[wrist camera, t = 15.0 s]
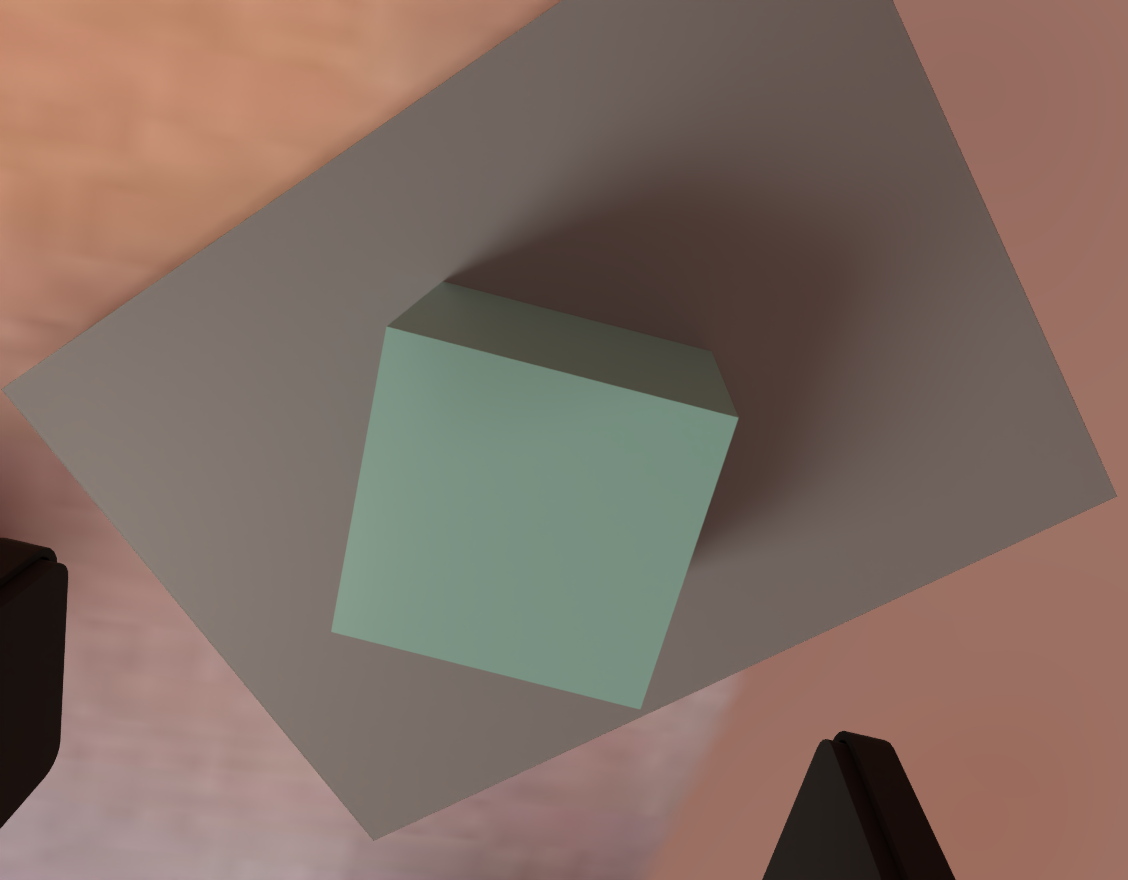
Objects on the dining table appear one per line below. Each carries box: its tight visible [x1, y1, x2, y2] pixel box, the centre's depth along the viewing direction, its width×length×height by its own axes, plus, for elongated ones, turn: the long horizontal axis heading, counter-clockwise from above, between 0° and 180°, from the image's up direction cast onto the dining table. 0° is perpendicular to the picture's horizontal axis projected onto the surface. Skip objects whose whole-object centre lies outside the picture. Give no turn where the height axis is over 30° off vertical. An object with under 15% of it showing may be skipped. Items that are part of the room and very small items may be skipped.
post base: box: [2, 0, 1117, 841], centre depth 20 cm, size 22×16×6 cm
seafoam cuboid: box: [331, 281, 739, 709], centre depth 19 cm, size 6×6×5 cm
